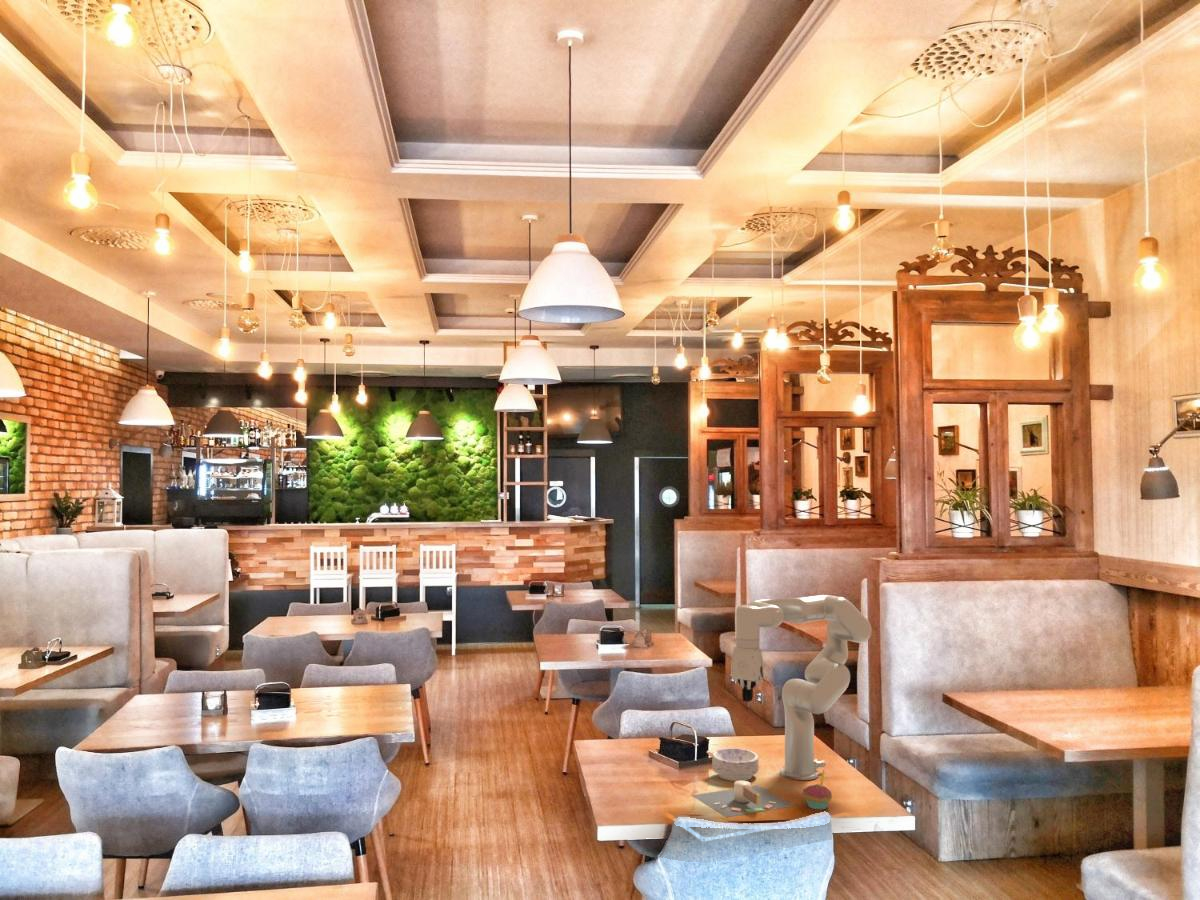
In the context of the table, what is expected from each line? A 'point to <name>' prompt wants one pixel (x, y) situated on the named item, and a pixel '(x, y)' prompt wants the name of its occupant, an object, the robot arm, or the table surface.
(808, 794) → the cupcake
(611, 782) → the table surface
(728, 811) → the board
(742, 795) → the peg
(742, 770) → the light grey bowl
